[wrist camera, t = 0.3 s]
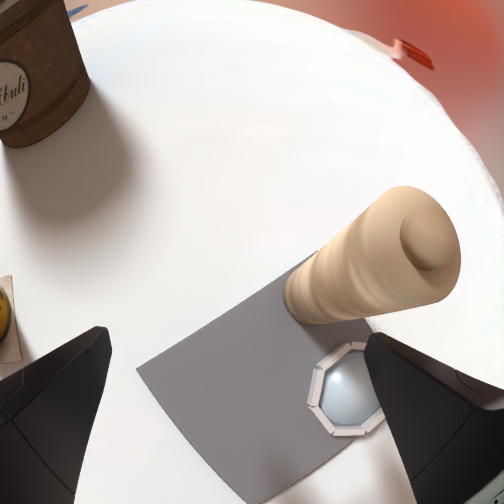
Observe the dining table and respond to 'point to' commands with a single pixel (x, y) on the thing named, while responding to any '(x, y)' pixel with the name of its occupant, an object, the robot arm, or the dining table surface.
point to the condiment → (8, 324)
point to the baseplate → (267, 392)
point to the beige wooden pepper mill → (379, 262)
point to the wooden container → (37, 70)
